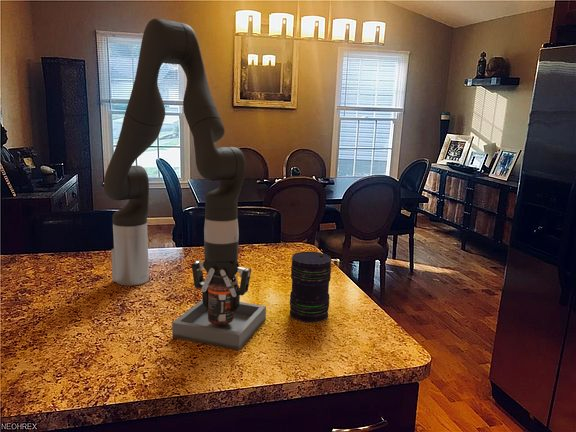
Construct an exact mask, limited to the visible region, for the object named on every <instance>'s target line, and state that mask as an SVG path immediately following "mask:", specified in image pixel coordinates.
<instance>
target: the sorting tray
mask: <svg viewBox="0 0 576 432" xmlns="http://www.w3.org/2000/svg"><path fill="white" fill-rule="evenodd" d="M239 302H240V305H239V308H238V309H237V310H236V311H235V312H234V318H233V321H232V322H230V323H228V324H225V325H216V324H212V323H210V322H209V321H208V307H205V306H204V304H203V298H202V299H201V300H199V301H198V302H197V303H195V304H194V305H193V306H192V307H190V308H189V309H188V310H186V311H185V312H184V313H183V314H182V315H180V316H179V317H177V318H176V319H175V320H174V321H172V323H171V324H172V325H171V329H172V338H174V339H180V340H185V341H190V342H196V343H200V344H205V345H211V346H216V347H220V348H226V349H231V350H235V351H240V350H241V349H242V348H243V346H244V345H245V344H246V343H247V342H248V341H249V339H250V338H252V336H253V335H254V334H255V333H256V331H257V330H258V329H259V328H260V327H261V326H262V324H263V323H264V322H265V321H266V319H267V318H266V317H267V306H266V305H261V304H254V303H249V302H242V301H239Z"/></svg>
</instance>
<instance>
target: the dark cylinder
mask: <svg viewBox="0 0 576 432" xmlns="http://www.w3.org/2000/svg"><path fill="white" fill-rule="evenodd" d="M290 272H291V273H290V278H291V292H290V294H289V309H290V310H289V316H290V315H291V316H290V317H291V318H292V319H293V318H294V319H293V320H295V321H298V322H302V323H306V324H307V323H309V324H310V323H311V324H315V323H320V322H321V323H322V322H323V321H325V320H327V319H328V317H329V308H330V293H329V289H330V281H331V278H332V276H331V274H332V257H331V256H330V255H328V254H326V253H322V252H317V251H301V252H295V253H293V254H292V256H291V267H290Z"/></svg>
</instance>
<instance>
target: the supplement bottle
mask: <svg viewBox="0 0 576 432" xmlns="http://www.w3.org/2000/svg"><path fill="white" fill-rule="evenodd" d="M212 280H213V281H212V282H211V283H210V284H209V285H208V321H209V322H210V323H212V324H216V325H225V324H228V323H230V322H232V321H233V318H234V312H231V296H232V295H231V292H230V290H229V288H227V286H226V284H225V281H224V279H223V277H222V276H217V275H213V278H212Z"/></svg>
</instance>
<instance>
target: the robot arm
mask: <svg viewBox="0 0 576 432" xmlns="http://www.w3.org/2000/svg"><path fill="white" fill-rule="evenodd" d="M144 28H145V29H144V31H143V34H142V37H141V38H142V39H141V43H140V50H139V54H138V61H137V67H136V72H135V77H134V78H135V79H134V80H133V85H132V87H131V88H132V89H131V92H130V96H129V98H128V99H129V100H128V103H127V106H126V109H125V112H124V116H123V120H122V125H121V128H120V132H119V136H118V140H117V142H116V146H115V149H114V152H113V154H112V156H111V159H110V161H109V163H108V165H107V168H106V171H105V174H104V179H103V189H104V193H105V195H106V196H107V198H108V199H109V200H111V201H125V200H126V201H127V200H128V202H127V203H125V204H126V205H124V206H123V207H122V208H120V209H118V210H116V211H114V213H113V214H112V234H113V236H112V237H113V248H112V249H111V250H110V254H111V255H110V257H111V276H112V278H111V279H112V282H115V283H116V284H118V285H120V286H128V287H129V286H131V287H132V286H138V285H143V284H145V283H147V282H148V281H149V279H150V269H149V240H148V239H149V236H148V214H149V208H150V207H149V206H150V205H149V203H150V201H149V200H150V199H149V197H150V182H149V181H150V180H149V175H148V173H147V170H146V169H145V168H144V167H143V166H142V165H133V164H134V163H135V162H136V160H137V159H138V158H139V157H140V156H141V155H143V154H144V152H146V151H147V150H148V149H149V148H150V147H151V146H152V145H153V144H154V143H155V142H156V140H157V139H158V138H159V136H160V132H161V131H162V127H163V124H164V121H165V119H166V109H165V108H166V107H165V103H164V100H163V97H162V94H161V92H160V89H159V84H158V80H159V79H158V78H159V74H160V70H161V67H162V65H163V64H169V65H170V64H171V65H179V66H180V67H181V69H182V70H183V72H184V74H185V77H186V85H185V86H186V87H185V90H184V95H183V101H182V109H183V114H184V117H185V120H186V123H187V125H188V128H189V130H190V131H191V135H192V138H193V145H194V154H195V165H196V170H197V171H198V173H199V175H200V176H201V177H202V178H203V179H204V180H206V181H209V182H216V181H220V182H219V185H218V187H217V188H215V189H214V190H210V191H209V192H208V193H206V195H205V200H204V202H205V203H204V204H205V205H204V208H205V210H204V212H205V214H204V227H203V232H204V233H203V235H204V236H203V237H204V238H203V239H204V240H203V244H204V245H203V246H204V247H203V249H204V250H203V254H204V261H201V260H200V259H198V260H196V261H195V262H193V263H191V270H192V278H193V284H194V288H195V289H198V290H199V289H200V290H201V291H202V292H201V293H202V299H203V304H204V306H205V307H208V285H209V284H210V283H211V282H212V281H213V280H212V278H213V275H217V276H222V277H223V279H224V281H225V284H226V286H227V288H229V290H230V292H231V295H232V296H231V312H235V311H236V310H237V309H238V308H239V305H240V302H241V301H240V299H241V297H242V296H244V295H245V294H247V292H248V290H249V287H250V282H251V281H250V280H251V274H252V268H250V267H241V266H240V264H239V260H238V259H239V236H240V233H239V220H238V218H239V216H238V210H239V209H238V207H239V206H238V204H239V203H238V200H239V198H240V197H239V196H240V194H241V191H242V186H243V183H244V179H245V174H246V169H247V162H246V158H245V155H244V153H243V150H241V149H240V148H238V147H236V146H223V147H222V146H218V147H216V145H215V143H216V142H218V141H220V140H221V139H222V138H223V137H224V136H225V132H226V131H225V127H224V126H225V125H224V124H223V121H222V119H221V117H220V113H219V111H218V109H217V106H216V104H215V102H214V99H213V96H212V94H211V90H210V86H209V83H208V78H207V74H206V69H205V64H204V60H203V56H202V52H201V51H202V50H201V49H200V48H201V47H200V44H199V42H198V41H199V40H198V38H197V35H196V32H195V30H194V29H193V28H192V27H191V26H190V25H189V24H186V23H184V22H179V21H175V20H174V21H173V20H169V19H166V18H165V19H164V18H152V19H150V21H148V23H147V25H146V26H145V27H144ZM203 270H205V272H206V273H207V275H206V277H205V279H204V273H203ZM237 273H238V275H239V278H240V283H239V281H238V278H237V276H236V275H237ZM239 284H240V285H239Z"/></svg>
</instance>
